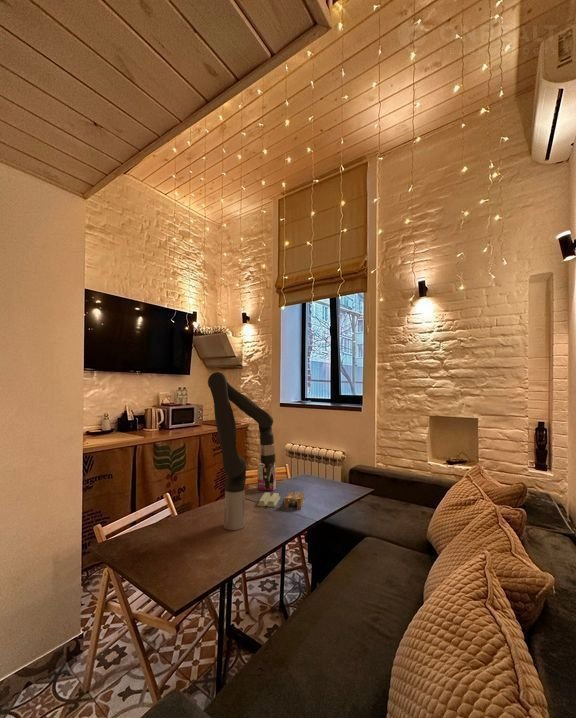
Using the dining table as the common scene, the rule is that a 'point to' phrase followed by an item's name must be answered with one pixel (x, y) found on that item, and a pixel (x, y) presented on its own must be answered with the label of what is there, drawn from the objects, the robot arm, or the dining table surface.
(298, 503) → the bore block
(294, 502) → the steel axle
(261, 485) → the candy bar box
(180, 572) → the dining table surface
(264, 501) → the axle cradle
